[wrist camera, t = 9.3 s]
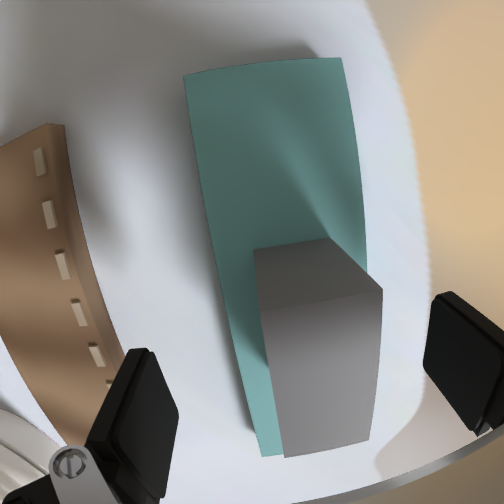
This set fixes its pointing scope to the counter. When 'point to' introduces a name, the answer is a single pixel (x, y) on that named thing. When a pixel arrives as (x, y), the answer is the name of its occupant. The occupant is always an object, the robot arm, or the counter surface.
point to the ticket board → (52, 287)
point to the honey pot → (22, 453)
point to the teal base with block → (290, 247)
